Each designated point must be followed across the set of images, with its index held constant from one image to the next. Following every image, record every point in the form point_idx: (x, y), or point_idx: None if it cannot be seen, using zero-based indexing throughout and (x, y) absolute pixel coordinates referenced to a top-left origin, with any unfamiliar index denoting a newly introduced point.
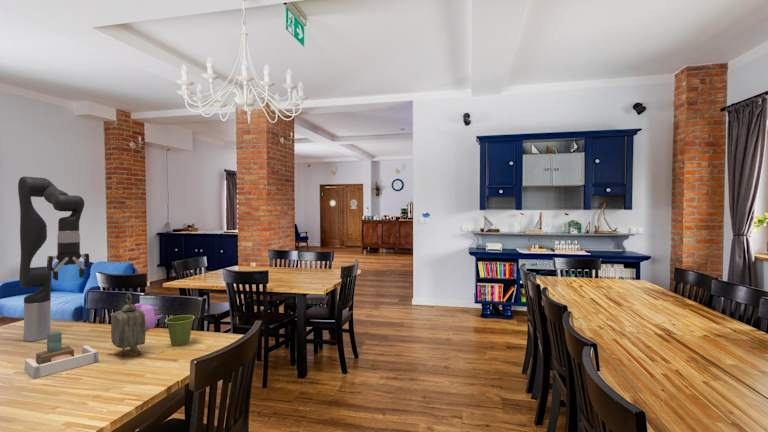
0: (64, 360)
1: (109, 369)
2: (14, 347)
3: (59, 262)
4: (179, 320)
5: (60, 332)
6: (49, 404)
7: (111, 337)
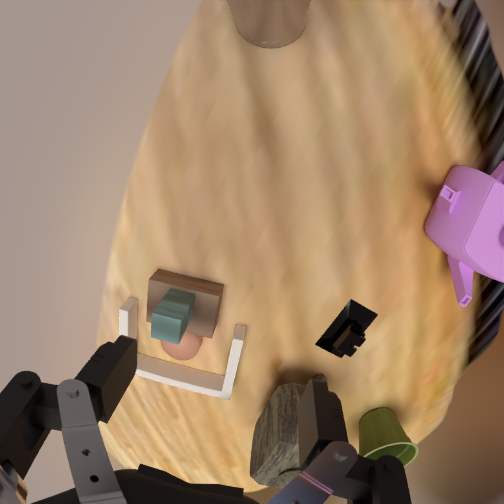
0: (167, 383)
1: (220, 424)
2: (190, 59)
3: (84, 471)
4: (406, 438)
5: (176, 342)
6: (125, 436)
7: (280, 389)
